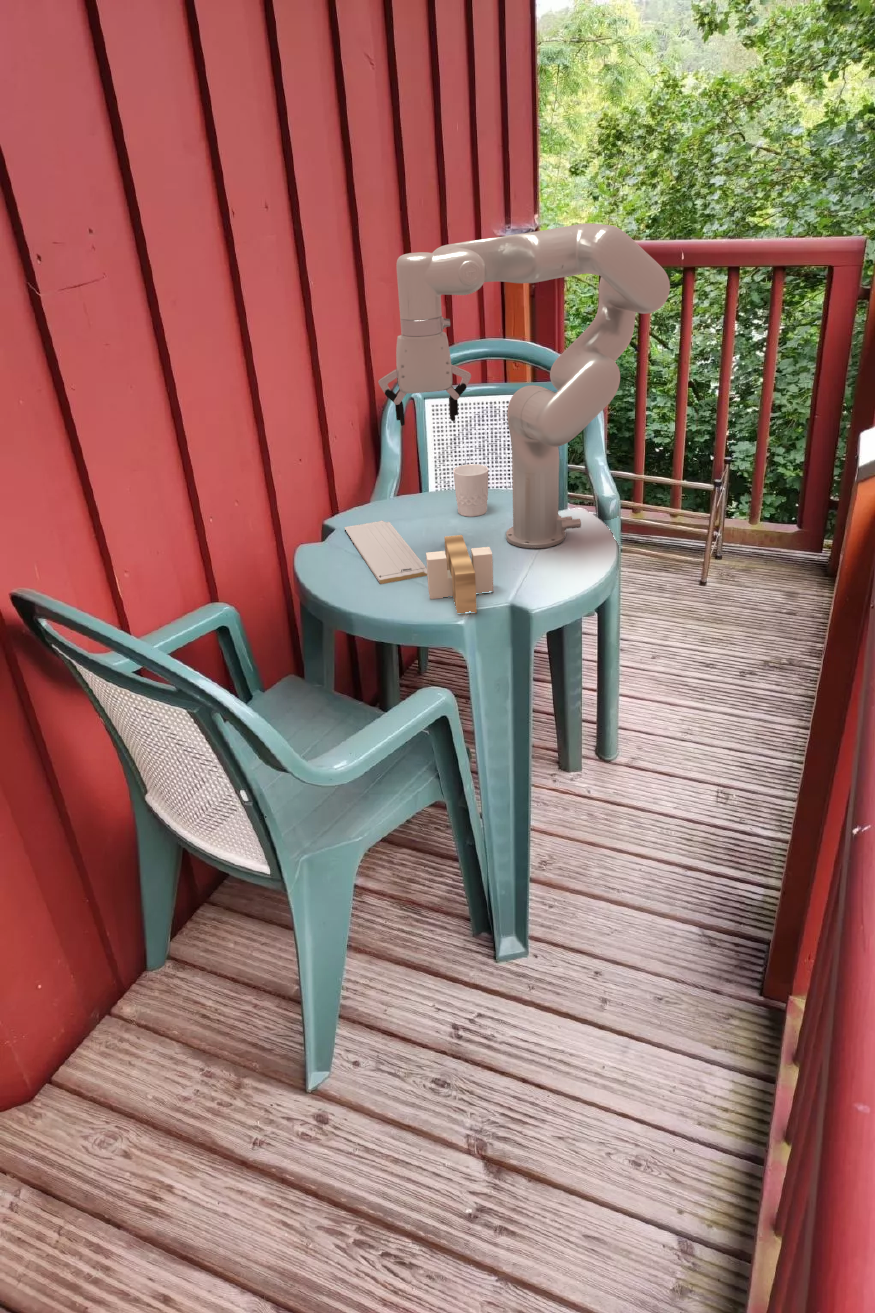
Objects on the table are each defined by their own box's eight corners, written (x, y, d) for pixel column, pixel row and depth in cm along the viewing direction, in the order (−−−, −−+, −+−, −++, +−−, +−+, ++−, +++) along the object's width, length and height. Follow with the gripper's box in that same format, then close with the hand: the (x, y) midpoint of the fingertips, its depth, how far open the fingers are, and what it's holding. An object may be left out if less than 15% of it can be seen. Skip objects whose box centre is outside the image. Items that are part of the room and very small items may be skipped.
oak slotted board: (446, 574, 178) (444, 536, 174) (464, 572, 179) (462, 534, 175) (457, 614, 163) (455, 574, 159) (476, 612, 163) (475, 572, 159)
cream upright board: (490, 585, 173) (489, 546, 169) (493, 593, 170) (492, 553, 166) (428, 591, 172) (425, 552, 168) (430, 599, 169) (427, 560, 165)
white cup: (459, 519, 204) (457, 476, 199) (452, 508, 211) (450, 466, 206) (493, 515, 205) (492, 472, 200) (484, 503, 212) (483, 462, 207)
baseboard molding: (395, 524, 205) (344, 533, 202) (394, 512, 204) (343, 521, 201) (438, 576, 179) (380, 587, 176) (437, 562, 178) (378, 573, 175)
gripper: (466, 320, 167) (469, 412, 175) (373, 327, 166) (381, 420, 174) (471, 327, 160) (475, 423, 169) (374, 334, 159) (383, 430, 168)
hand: (427, 421), depth 171 cm, fingers open, 9 cm apart
